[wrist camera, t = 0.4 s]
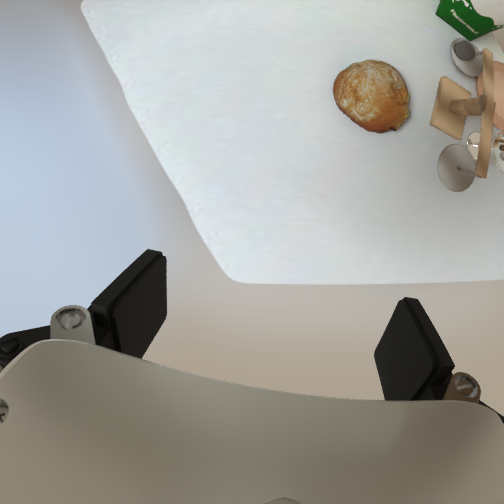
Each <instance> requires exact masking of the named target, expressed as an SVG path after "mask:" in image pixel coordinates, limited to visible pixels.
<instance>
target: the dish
mask: <svg viewBox="0 0 504 504" xmlns="http://www.w3.org/2000/svg"><path fill="white" fill-rule="evenodd" d="M493 70H494V102H495V103H496V105H495V111H494V116H493V125H494V126H495V127H496V128H498V129H499V130H501V131H504V64H503V63H501V62H497V61H493ZM476 91H477V96H478V98H480V95H483V71H482V73H481V74H480V75H479V76H476Z"/></svg>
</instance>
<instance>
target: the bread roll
mask: <svg viewBox="0 0 504 504" xmlns="http://www.w3.org/2000/svg"><path fill="white" fill-rule="evenodd" d="M333 94H334V98H335V101H336V104H337V106H338V107H339V109H340V110H341V111H342V112H343V113H344V114H346V115H347V116H348V117H350V119H351V120H352V121H353V122H355V123H356V124H358V125H359V126H360V127H362V128H364V129H365V130H367V131H373V132H376V133H383V132H386V131H389V130H393V131H396V130H397V129H398V127H399V126H401V125H402V124H403V123H404V120H405V119H408V117H409V115H410V110H409V109H408V101H409V94H408V91H407V87H406V84H405V82H404V80H403V78H402V76H401V75H400V73H399V72H398V71H397V70H396V69H395V68H394V67H392V66H391V65H389V64H387V63H385V62H382V61H376V60H366V61H363V62H360V63H353V64H351V65H350V67H348V68H346V69H345V70H343V71H341V72H340V73H339V74H338V76H337V77H336V79H335V81H334V86H333Z"/></svg>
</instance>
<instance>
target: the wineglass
mask: <svg viewBox="0 0 504 504" xmlns="http://www.w3.org/2000/svg"><path fill="white" fill-rule="evenodd" d="M479 142H480V133H478V132H473V133H471V134H470V135H469V137H468V140H467V148H468V150H469V151H470V152H471V154H472V156H473V158H474V159H475V160H477V156H478V149H479ZM490 151H491V152H492V157H493V160H494V162H495V164H496V166H497V167H498V168H499V169H500V170H501V171H503V172H504V132H500V133H498V134H497V135H496V136H495V137H494V139H493V142H492V146H491V149H490Z"/></svg>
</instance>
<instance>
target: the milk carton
mask: <svg viewBox="0 0 504 504" xmlns="http://www.w3.org/2000/svg"><path fill="white" fill-rule="evenodd" d="M436 15H437V16H439V17H440V18H441V19H443V20H444V21H445V22H447V23H448V24H449V25H451V26H452V27H453V28H454V29H456V30H457V31H458V32H459V33H460V34H462V35H463V36H464V37H465V38H466V39H468V40H469V41H472V40H474V39H476V38H478V37H480V36H482V35H485V34H487V33H489V32H492V31H494V30H497V29H500V28H503V27H504V0H441V1H440V3H439V6H438V9H437V11H436Z"/></svg>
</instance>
